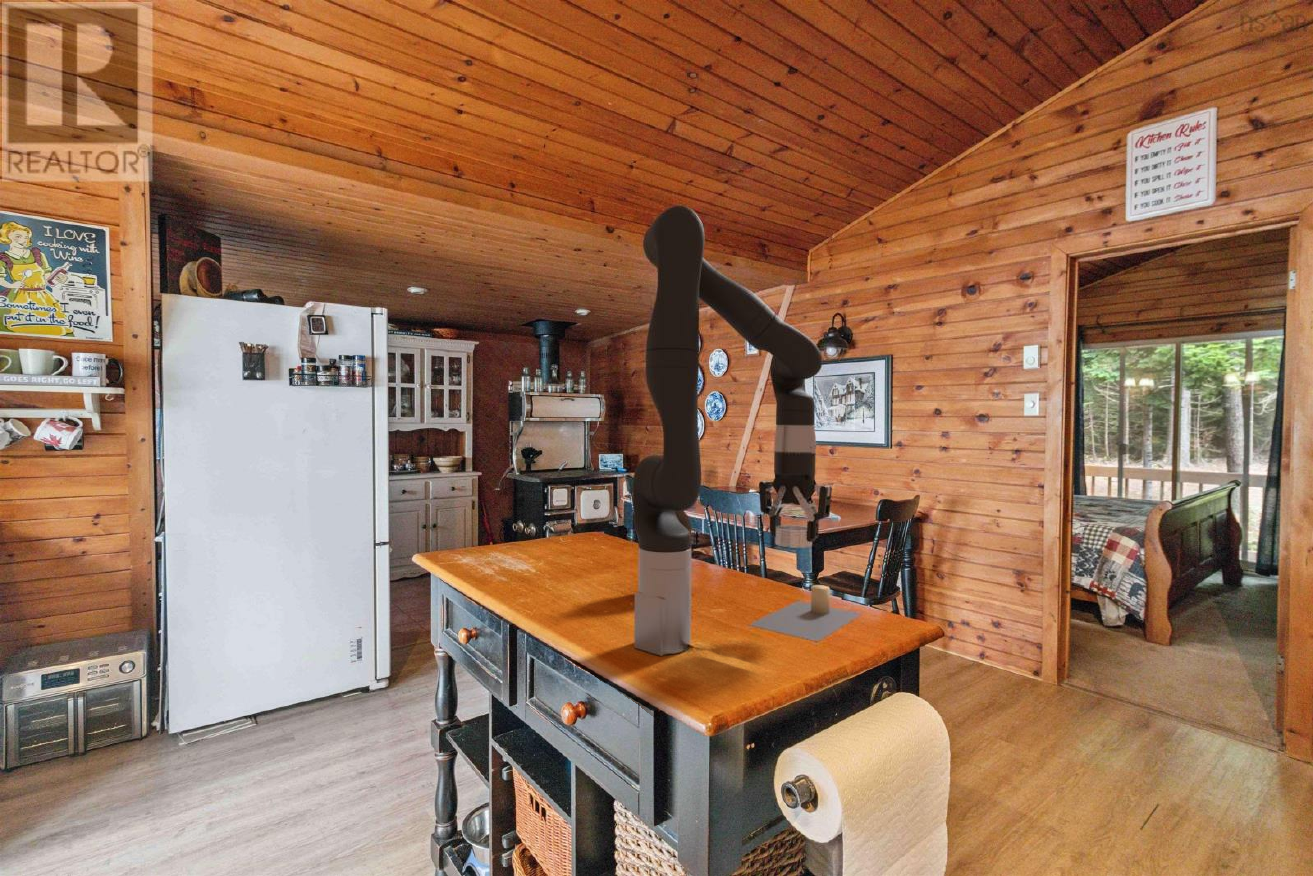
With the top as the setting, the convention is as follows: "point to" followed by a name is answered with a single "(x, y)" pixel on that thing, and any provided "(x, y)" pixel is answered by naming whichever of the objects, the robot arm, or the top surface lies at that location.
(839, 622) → the fitting plate
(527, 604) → the top surface
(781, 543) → the steel ring
